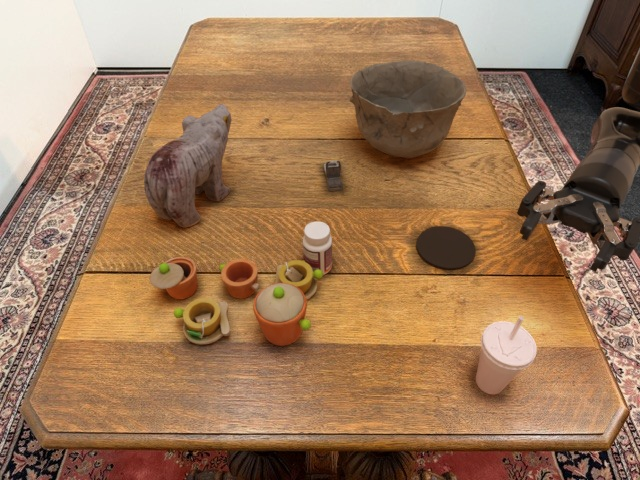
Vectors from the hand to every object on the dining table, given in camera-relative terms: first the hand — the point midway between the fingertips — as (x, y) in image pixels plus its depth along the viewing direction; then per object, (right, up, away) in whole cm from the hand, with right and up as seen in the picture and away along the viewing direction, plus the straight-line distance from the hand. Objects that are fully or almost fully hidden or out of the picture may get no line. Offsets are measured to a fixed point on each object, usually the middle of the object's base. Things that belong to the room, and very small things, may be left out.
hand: (559, 250), depth 58 cm
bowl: (-12, +21, +45) cm, 51 cm away
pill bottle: (-30, -3, +21) cm, 37 cm away
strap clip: (-27, +14, +37) cm, 48 cm away
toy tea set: (-42, -9, +15) cm, 46 cm away
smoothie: (-7, -18, +6) cm, 20 cm away
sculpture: (-53, +9, +33) cm, 63 cm away
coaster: (-8, 0, +23) cm, 24 cm away
